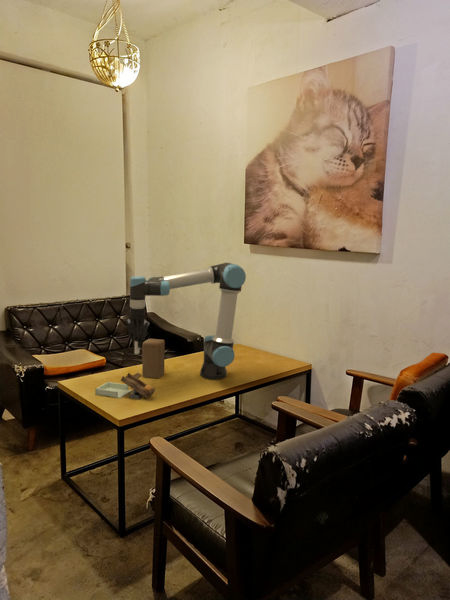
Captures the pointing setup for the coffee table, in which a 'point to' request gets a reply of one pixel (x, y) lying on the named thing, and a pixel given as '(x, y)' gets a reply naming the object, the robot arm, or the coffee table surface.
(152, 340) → the wooden block
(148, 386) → the ball
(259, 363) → the coffee table surface
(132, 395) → the fulcrum
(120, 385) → the tray
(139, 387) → the lever
